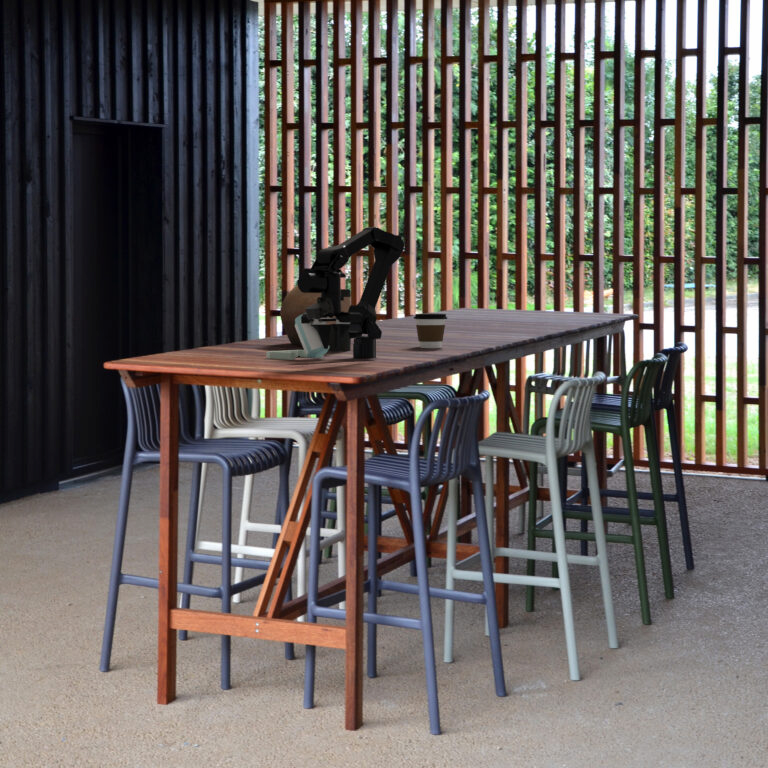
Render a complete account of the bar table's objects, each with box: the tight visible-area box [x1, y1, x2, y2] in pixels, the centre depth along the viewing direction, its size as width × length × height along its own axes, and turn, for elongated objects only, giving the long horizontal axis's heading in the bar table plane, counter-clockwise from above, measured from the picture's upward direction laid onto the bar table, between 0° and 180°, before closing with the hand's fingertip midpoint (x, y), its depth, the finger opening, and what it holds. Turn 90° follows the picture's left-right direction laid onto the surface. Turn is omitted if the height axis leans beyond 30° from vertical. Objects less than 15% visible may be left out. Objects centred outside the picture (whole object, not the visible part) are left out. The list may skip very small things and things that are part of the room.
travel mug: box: [327, 288, 352, 352], centre depth 395 cm, size 8×8×20 cm
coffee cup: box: [413, 313, 448, 349], centre depth 408 cm, size 11×11×12 cm
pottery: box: [279, 284, 327, 347], centre depth 411 cm, size 23×23×25 cm
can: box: [295, 313, 330, 359], centre depth 363 cm, size 7×7×12 cm
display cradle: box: [265, 349, 325, 361], centre depth 368 cm, size 13×10×2 cm
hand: (331, 348), depth 358 cm, fingers open, 4 cm apart
